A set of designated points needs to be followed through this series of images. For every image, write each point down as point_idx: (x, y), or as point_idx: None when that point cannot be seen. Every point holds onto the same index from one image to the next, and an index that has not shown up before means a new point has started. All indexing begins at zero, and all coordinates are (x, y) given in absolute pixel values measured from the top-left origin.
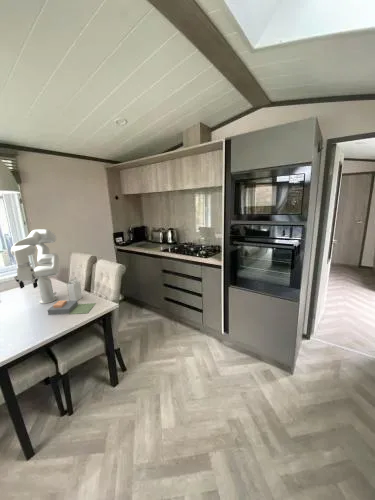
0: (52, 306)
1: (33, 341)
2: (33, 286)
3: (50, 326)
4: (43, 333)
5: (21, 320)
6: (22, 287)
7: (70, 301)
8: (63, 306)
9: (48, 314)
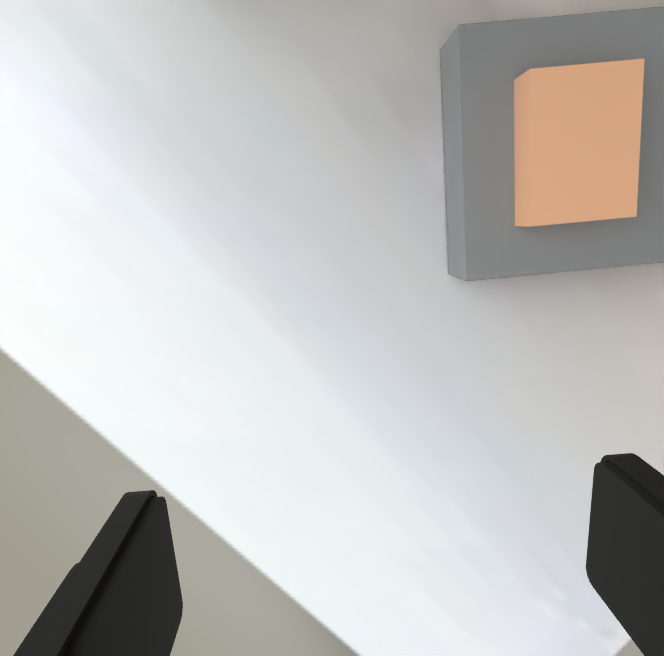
0: (475, 187)
1: (581, 645)
2: (617, 618)
3: None
4: None
5: (232, 382)
6: (173, 581)
7: (657, 32)
8: None
9: (450, 273)
